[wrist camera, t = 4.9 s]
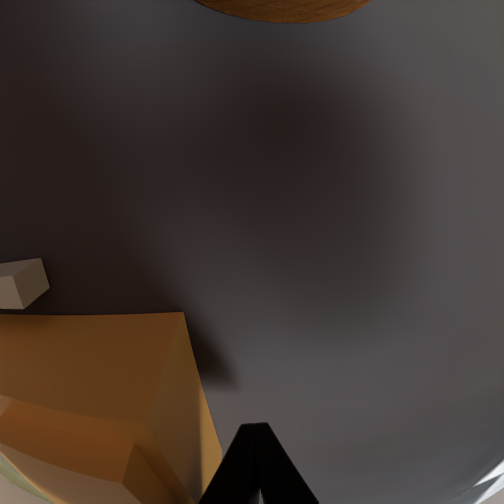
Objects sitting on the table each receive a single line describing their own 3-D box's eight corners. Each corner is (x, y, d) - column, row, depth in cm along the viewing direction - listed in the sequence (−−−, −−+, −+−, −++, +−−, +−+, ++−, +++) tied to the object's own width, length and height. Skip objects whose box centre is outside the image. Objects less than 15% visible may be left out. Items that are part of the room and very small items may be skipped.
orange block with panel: (222, 451, 10) (217, 554, 5) (67, 433, 10) (33, 506, 5) (183, 311, 8) (131, 468, 3) (-1, 313, 8) (-76, 385, 3)
